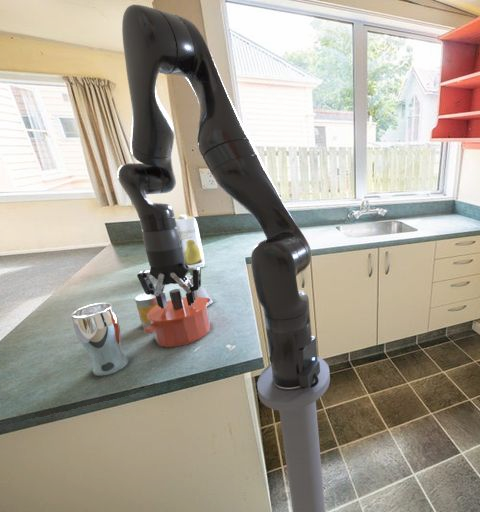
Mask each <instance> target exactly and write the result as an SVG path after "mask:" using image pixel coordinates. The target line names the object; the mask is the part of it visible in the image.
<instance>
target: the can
mask: <svg viewBox="0 0 480 512" xmlns="http://www.w3.org/2000/svg"><path fill="white" fill-rule="evenodd" d="M134 300H135V305H136V308H137V312H138V315H139V319H140V322H141V326H142V329H143V328H145V327H147V326H148V325H150V324H151V321H150V320H149V319H148V317H147V314H148V312H149V311H150V310H151V309H153V308H154V307H156V306H158V304H157V300H156V296H155V295H152V294H150V295H147V294H146V293H145V292H143V293H141V294H138V295H137V296H135V297H134Z"/></svg>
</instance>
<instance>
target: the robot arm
mask: <svg viewBox="0 0 480 512" xmlns="http://www.w3.org/2000/svg"><path fill="white" fill-rule="evenodd" d="M121 23H122V24H121V25H122V27H121V30H122V31H121V36H122V45H123V53H124V61H125V67H126V68H125V70H126V77H127V83H128V91H129V97H130V104H131V113H132V114H131V115H132V117H131V118H132V119H131V120H132V121H131V123H132V125H131V134H130V135H131V137H130V152H131V155H132V157H133V158H134V159H135V160H136V161H138V162H139V163H138V162H137V163H133V162H132V163H123V164H122V165H120V166H119V168H118V170H117V179H118V182H119V184H120V185H121V187H122V189H123V191H124V192H125V193H126V195H127V197H128V198H129V200H130V202H131V203H132V205H133V208H134V209H135V211H136V213H137V216H138V220H139V224H140V227H141V232H142V241H143V245H144V250H145V252H146V253H145V254H146V257H147V260H148V265H149V267H150V269H149V270H142V271H140V272H139V273H138V274H137V275H136V276H137V279H138V281H139V283H140V285H141V287H142V289H143V291H144V293H146V294H147V295H150V294H152V295H155V296H156V300H157V304H158V306H159V307H161V309H162V308H165V307H166V306H167V296H166V294H165V292H164V291H165V287H166V286H167V285H170V284H173V285H178V286H179V287H180V288H182V289H183V290H184V292H185V297H186V298H187V302H188V306H192V305H193V303H194V302H195V300H196V299H195V294H194V291H196V290H198V289H199V287H200V286H201V284H202V267H201V268H200V267H196V268H191V267H188V266H187V265H186V262H185V256H184V252H183V247H182V240H181V238H180V234H179V232H178V229H177V225H176V221H175V218H176V216H175V212H174V209H173V207H172V205H170V204H168V203H161V202H152V201H150V200H149V199H148V198H147V196H146V195H156V194H158V195H159V194H168V193H170V192H172V191H173V190H174V189H175V188H176V184H177V180H176V175H175V172H174V167H173V159H172V153H173V148H174V142H175V128H174V127H175V126H174V125H173V124H174V123H173V122H172V120H171V117H170V116H169V114H168V112H167V111H166V108H165V107H164V106H163V104H162V102H161V99H160V98H159V95H158V91H157V83H158V77H159V74H164V75H175V76H181V77H184V78H185V79H186V80H187V82H188V83H189V85H190V87H191V89H192V90H193V93H194V95H195V96H196V99H197V102H198V107H199V113H198V114H199V117H198V122H197V123H198V124H197V133H196V135H197V136H196V137H197V138H196V139H197V140H196V141H197V142H196V143H197V148H198V151H199V153H200V156H201V158H202V159H203V161H204V163H205V165H206V166H207V168H208V170H209V172H210V173H211V176H212V177H213V178H214V180H215V182H216V183H217V184H218V185H219V187H220V188H221V189H222V190H223V191H224V192H225V193H226V194H227V195H228V196H229V197H230V198H232V199H233V200H234V201H235V202H237V203H238V204H239V205H241V207H243V208H244V209H245V210H246V211H247V212H248V213H249V214H250V215H252V217H253V218H254V219H255V220H256V222H257V223H258V225H259V227H260V228H261V230H262V232H263V234H264V236H265V238H266V239H264V240H261V241H259V242H258V243H257V244H255V246H254V247H253V248H252V251H251V256H250V267H251V274H252V278H253V282H254V289H255V292H256V293H255V294H256V297H257V300H258V302H259V304H260V306H261V307H262V309H263V316H264V317H263V318H264V323H265V332H266V337H267V345H268V346H267V347H268V352H269V353H268V355H269V362H270V365H271V368H272V375H273V377H272V379H273V384H274V385H275V386H276V387H277V388H278V389H281V390H286V391H291V390H297V389H300V388H303V389H306V388H309V387H311V388H313V387H314V386H316V385H317V384H318V382H319V379H318V377H317V376H318V374H319V373H320V363H319V361H318V359H317V357H318V347H317V337H316V336H315V335H313V331H312V321H311V308H310V298H309V295H308V294H307V292H305V291H304V290H301V289H299V286H298V280H297V277H298V276H299V275H300V274H302V273H303V272H304V271H306V270H307V269H308V267H309V266H310V265H311V262H312V250H311V247H310V244H309V242H308V240H307V238H306V236H305V234H303V232H302V230H301V229H300V227H299V225H298V224H297V223H296V221H295V219H294V218H293V216H292V215H291V213H290V212H289V211H288V209H287V206H286V205H285V203H284V202H283V200H282V198H281V196H280V194H279V193H278V190H277V188H276V186H275V184H274V183H273V181H272V179H271V177H270V175H269V174H268V172H267V170H266V168H265V166H264V164H263V160H262V158H261V157H260V155H259V152H258V151H257V149H256V147H255V146H254V143H253V141H252V139H251V138H250V136H249V134H248V133H247V130H246V128H245V127H244V125H243V123H242V121H241V119H240V117H239V115H238V113H237V111H236V108H235V107H234V105H233V103H232V100H231V98H230V97H229V95H228V92H227V89H226V87H225V85H224V83H223V81H222V78H221V75H220V73H219V70H218V67H217V65H216V63H215V61H214V58H213V55H212V53H211V50H210V49H209V46H208V44H207V42H206V40H205V37H204V36H203V34H202V32H201V31H200V29H198V26H197V25H196V24H195V23H193V22H192V21H191V20H189V19H188V18H186V17H184V16H181V15H178V14H175V13H171V12H168V11H164V10H160V9H158V8H153V7H150V6H147V5H141V4H131V5H128V6H127V7H126V9H125V10H124V12H123V15H122V22H121ZM188 273H189V274H190V277H191V276H193V285H192V284H191V283H190V280H189V279H188V278H189V277H188V276H187V274H188ZM152 277H153V278H154V279H155V280H156V283H155V285H154V283H153V281H152V279H151V278H152ZM314 380H315V382H314ZM313 382H314V383H313ZM312 383H313V384H312Z"/></svg>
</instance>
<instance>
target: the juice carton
mask: <svg viewBox="0 0 480 512" xmlns="http://www.w3.org/2000/svg"><path fill="white" fill-rule="evenodd" d="M196 219H197V218H195V216H192V215H187V214H180V215H179V217H175V221H176V225H177V229H178V232H179V234H180V238H181V240H182V247H183V252H184V256H185V262H186V265H187V266H188V267H191V268H196V267H200V268H201V269H202V268H204V267H205V255H204V250H203V245H202V239H201V235H200V230H199V225H198V221H197V220H196Z"/></svg>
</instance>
